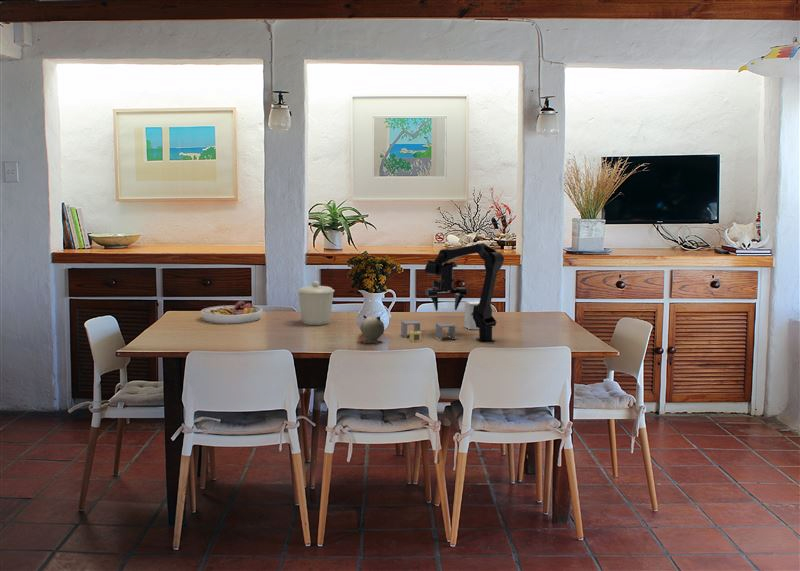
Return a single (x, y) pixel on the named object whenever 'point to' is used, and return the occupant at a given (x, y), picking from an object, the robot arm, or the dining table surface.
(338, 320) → the dining table surface
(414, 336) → the letter cube
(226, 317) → the bowl
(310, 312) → the canister
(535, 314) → the dining table surface
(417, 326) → the cover
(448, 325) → the cover
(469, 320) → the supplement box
